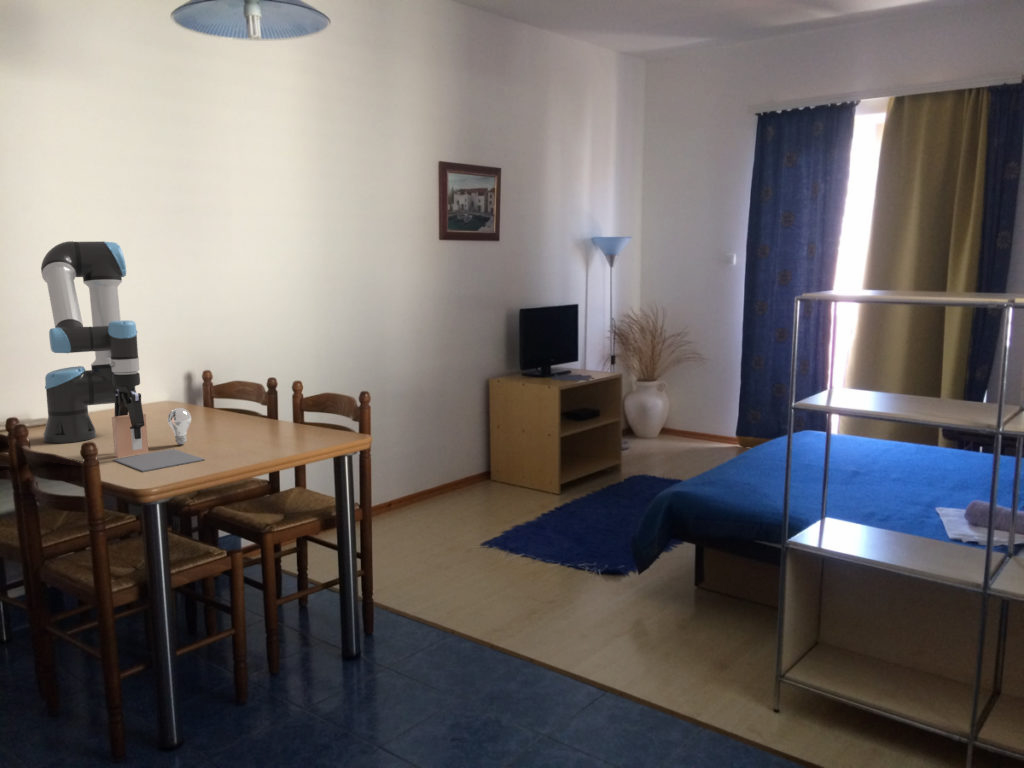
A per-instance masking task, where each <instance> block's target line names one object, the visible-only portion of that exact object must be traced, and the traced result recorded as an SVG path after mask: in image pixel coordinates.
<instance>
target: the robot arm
mask: <svg viewBox="0 0 1024 768" xmlns="http://www.w3.org/2000/svg"><path fill="white" fill-rule="evenodd" d="M40 270H41V277H42V279H43V281H44V282H45V283H46V285H47V290H48V296H49V301H50V309H51V313H52V317H53V318H52V319H53V323H54V324H53V325H54V327H53V328H50V329H49V331H48V334H49V335H48V336H49V337H48V338H49V346H50V350H51V352H53V353H54V354H72V353H75V354H76V353H88V352H94V356H95V360H94V361H93V362H92V363H91V364H90V367H91V369H88V370H87V369H86V368H85V367H84V366H82V365H81V366H80V365H78V366H70V367H64V368H63V367H62V368H60V369H55V370H51V371H49V372H47V373H46V375H45V377H44V378H45V379H44V380H45V381H44V382H45V386H44V389H45V390H46V391H45V392H46V393H45V395H46V404H47V405H46V407H47V420H46V425H45V428H44V432H43V441H44V442H46V443H51V444H65V443H66V444H69V443H77V442H84V441H87V440H88V441H89V440H91V439H94V438H96V437H97V434H96V433H97V432H96V429H95V426H94V423H93V422H92V419H91V417H90V415H89V409H88V406H97V405H98V406H99V405H108V404H109V405H110V404H114V417H116V416H124V415H129V416H130V421H131V425H132V427H130V429H131V440H132V450H137V449H142V436H141V427H142V426H144V418H143V413H144V411H143V406H142V404H143V403H142V393H140V392H139V393H137V391H136V387H137V386H139V385H140V384H141V376H140V375H141V374H140V373H139V371H140V360H139V359H140V358H139V351H138V350H139V349H138V335H137V334H138V330H137V325H136V324H137V323H136V322H135V321H134V320H121V313H120V312H121V311H120V309H121V308H120V300H119V291H118V290H119V289H118V287H119V286H120V285H121V283H122V282H123V280H122V278H124V277H126V275H127V265H126V260H125V256H124V253H123V250H122V248H121V246H120V245H119V244H118V243H117V242H114V241H105V240H104V241H73V240H72V241H65V242H64V241H63V242H60V243H58V244H57V245H55V246H54V247H51V249H50V250H48V252H47V253H46V254H45V255H44V257H43V259H42V262H41V267H40ZM76 278H82V280H83V281H82V282H83V284H84V285H85V286H87V287H88V289H89V291H88V293H89V299H90V300H89V301H90V312H91V321H92V326H84V325H83V324H84V323H83V319H82V315H81V309H80V305H79V300H78V295H77V291H76V290H77V289H76V285H75V284H76V283H75V279H76Z"/></svg>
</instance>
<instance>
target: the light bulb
mask: <svg viewBox="0 0 1024 768" xmlns="http://www.w3.org/2000/svg"><path fill="white" fill-rule="evenodd" d="M191 422H192V414H191V413H190V412H189V410H187V409H186V408H183V407H176V408H173V409H172V410H171V411H170V412H169V414H168V417H167V423H168V425H169V427H170V428H171V429H172V431H173V435H174V438H175V443H176V444H177V445H178V446H184V445H185V443H187V442H188V441H187V434H188V430H189V428H190V425H191Z"/></svg>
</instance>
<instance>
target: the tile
mask: <svg viewBox="0 0 1024 768" xmlns="http://www.w3.org/2000/svg"><path fill="white" fill-rule="evenodd" d="M143 418H144V426H142V427H141V436H142V449H137V450H132V440H131V429H130V427H132V425H131V421H130V416H129V414H128V415H124V416H116V417H115V416H112V417H111V422H112V423H111V424H112V438H113V449H114V451H113V452H114V457H116V458H123V457H129V456H135V455H140V454H146V453H149V442H148V429H147V414H146V413H144V412H143Z"/></svg>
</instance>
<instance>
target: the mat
mask: <svg viewBox="0 0 1024 768" xmlns="http://www.w3.org/2000/svg"><path fill="white" fill-rule="evenodd" d="M202 460H204V461H205V458H204V457H203V458H202V457H200V456H196V455H193V454H189V453H187V452H184V451H181V450H178V449H175V448H170V449H165V450H158V451H152V452H148V453H143V454H137V455H131V456H125V457H119V458H118V457H116V458H113V462H116V463H119V464H121V465H124V466H127V467H129V468H131V469H134V470H137V471H139V472H142V473H145V472H151V471H155V470H161V469H166V468H173V467H178V466H183V465H188V464H193V462H194V463H198V461H199V462H203V461H202Z"/></svg>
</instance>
